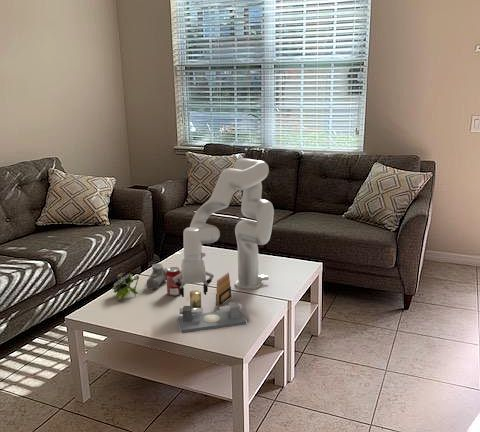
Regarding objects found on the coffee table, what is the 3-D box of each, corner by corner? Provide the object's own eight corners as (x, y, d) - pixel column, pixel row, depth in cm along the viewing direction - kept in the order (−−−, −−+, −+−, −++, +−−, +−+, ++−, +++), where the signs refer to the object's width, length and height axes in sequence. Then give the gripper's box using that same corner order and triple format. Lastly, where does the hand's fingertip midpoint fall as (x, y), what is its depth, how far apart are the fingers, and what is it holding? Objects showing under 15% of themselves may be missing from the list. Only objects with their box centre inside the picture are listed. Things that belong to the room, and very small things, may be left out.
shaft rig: (239, 311, 215) (238, 297, 213) (246, 324, 203) (246, 310, 202) (177, 319, 209) (176, 305, 207) (181, 333, 197) (180, 318, 196)
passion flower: (123, 305, 237) (127, 276, 241) (143, 305, 231) (148, 276, 236) (104, 299, 226) (109, 270, 231) (125, 299, 221) (131, 269, 225)
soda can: (179, 297, 230) (178, 272, 226) (165, 296, 231) (163, 271, 228) (184, 291, 236) (182, 266, 233) (170, 290, 237) (168, 266, 234)
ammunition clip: (219, 306, 220) (218, 280, 217) (216, 305, 221) (215, 279, 218) (231, 296, 229) (230, 271, 226) (227, 295, 230) (227, 271, 227)
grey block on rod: (203, 316, 208) (202, 305, 207) (202, 321, 204) (201, 310, 202) (181, 316, 208) (180, 305, 207) (179, 321, 204) (179, 310, 202)
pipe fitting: (154, 278, 250) (153, 259, 246) (169, 281, 248) (169, 262, 244) (143, 290, 240) (142, 271, 235) (159, 293, 238) (158, 274, 233)
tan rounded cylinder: (200, 304, 222) (199, 289, 220) (202, 309, 217) (201, 294, 216) (189, 305, 221) (188, 291, 219) (191, 310, 216) (190, 295, 214)
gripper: (211, 252, 218) (212, 289, 222) (171, 255, 214) (172, 293, 218) (215, 258, 211) (215, 296, 215) (173, 261, 207) (174, 300, 211)
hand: (193, 294), depth 217 cm, fingers open, 9 cm apart
